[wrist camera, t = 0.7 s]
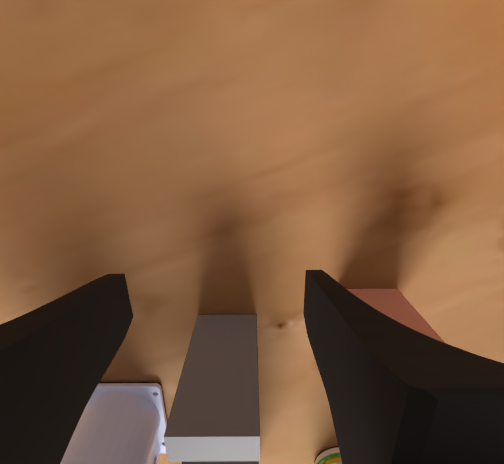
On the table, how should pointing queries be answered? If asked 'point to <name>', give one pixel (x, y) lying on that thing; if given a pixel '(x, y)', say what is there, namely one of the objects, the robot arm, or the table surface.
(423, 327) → the red domino
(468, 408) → the robot arm
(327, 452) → the supplement bottle
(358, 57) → the table surface
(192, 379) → the domino
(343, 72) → the table surface
